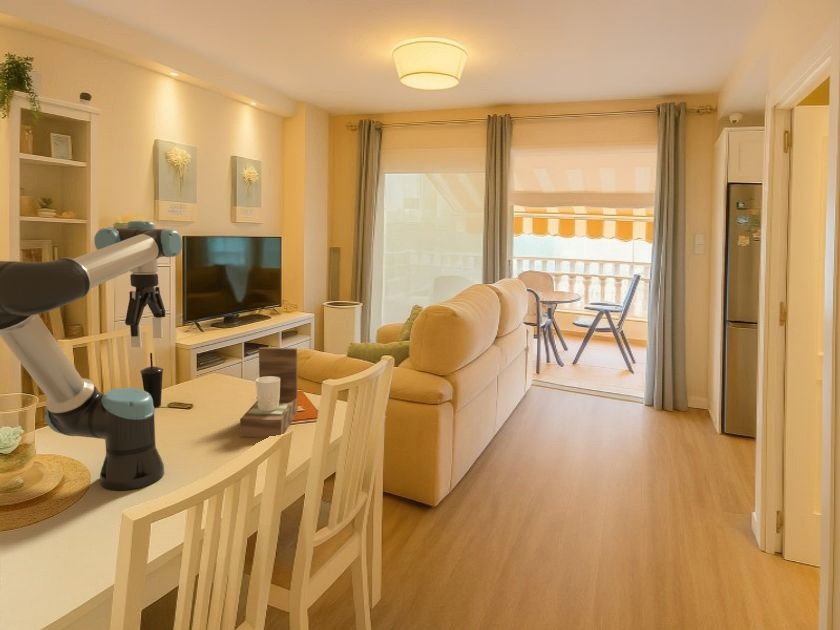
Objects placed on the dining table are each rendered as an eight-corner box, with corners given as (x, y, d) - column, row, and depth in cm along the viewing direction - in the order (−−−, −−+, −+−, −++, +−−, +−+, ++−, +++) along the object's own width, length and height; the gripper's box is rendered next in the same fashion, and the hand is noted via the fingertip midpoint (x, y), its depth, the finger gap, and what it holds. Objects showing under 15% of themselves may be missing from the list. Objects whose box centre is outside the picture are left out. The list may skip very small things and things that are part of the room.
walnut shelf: (281, 438, 177) (280, 365, 174) (240, 437, 177) (238, 363, 174) (297, 413, 201) (296, 348, 197) (261, 412, 201) (260, 347, 197)
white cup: (274, 412, 182) (273, 383, 180) (252, 410, 183) (251, 381, 182) (284, 405, 189) (284, 377, 188) (263, 403, 191) (262, 375, 189)
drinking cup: (169, 405, 206) (167, 352, 203) (150, 410, 200) (147, 356, 197) (157, 401, 210) (154, 349, 207) (137, 406, 204) (134, 353, 201)
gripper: (151, 269, 179) (154, 334, 183) (108, 276, 155) (113, 350, 158) (174, 270, 179) (177, 334, 183) (135, 277, 155) (139, 351, 158)
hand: (147, 342), depth 171 cm, fingers open, 13 cm apart
